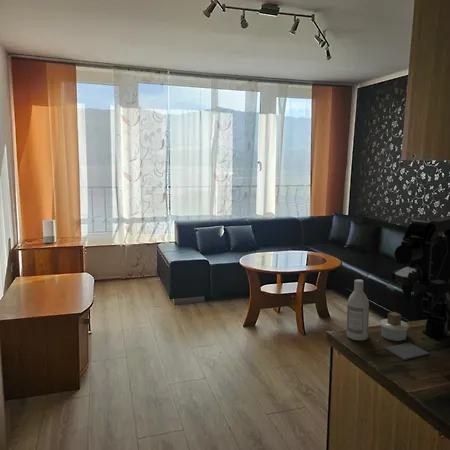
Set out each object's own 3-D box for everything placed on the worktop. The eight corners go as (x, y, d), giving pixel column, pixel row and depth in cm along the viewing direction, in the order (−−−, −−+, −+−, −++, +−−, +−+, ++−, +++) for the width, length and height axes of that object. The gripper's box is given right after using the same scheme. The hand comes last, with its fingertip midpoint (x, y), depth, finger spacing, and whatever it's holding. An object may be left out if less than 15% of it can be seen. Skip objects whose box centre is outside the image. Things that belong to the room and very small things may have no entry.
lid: (394, 319, 144) (395, 307, 143) (414, 328, 135) (415, 316, 135) (374, 323, 141) (374, 311, 140) (393, 333, 132) (393, 320, 132)
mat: (409, 343, 132) (409, 342, 132) (429, 354, 125) (429, 353, 125) (384, 349, 129) (384, 347, 129) (403, 360, 121) (403, 358, 121)
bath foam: (357, 331, 143) (359, 276, 140) (372, 338, 137) (374, 281, 134) (342, 335, 140) (343, 279, 137) (356, 342, 134) (358, 284, 131)
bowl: (394, 329, 144) (394, 320, 143) (411, 338, 136) (411, 328, 136) (376, 333, 141) (376, 323, 140) (392, 342, 134) (393, 332, 133)
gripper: (379, 255, 133) (378, 300, 136) (425, 268, 116) (422, 320, 118) (406, 252, 137) (403, 296, 140) (454, 264, 120) (450, 314, 122)
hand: (418, 306), depth 130 cm, fingers open, 9 cm apart
